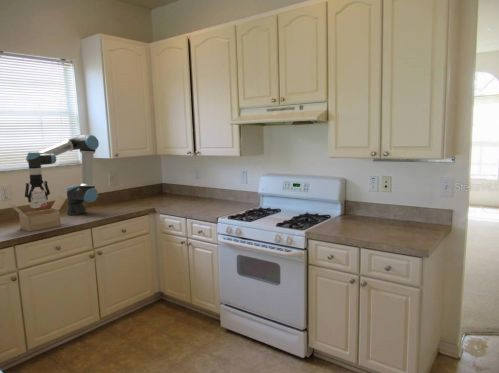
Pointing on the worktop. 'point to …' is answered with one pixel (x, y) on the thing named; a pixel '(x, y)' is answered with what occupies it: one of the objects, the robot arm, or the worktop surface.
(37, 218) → the carton
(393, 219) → the worktop surface
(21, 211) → the flap
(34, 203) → the ink box
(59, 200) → the flap
